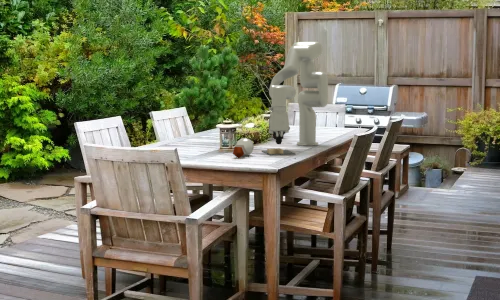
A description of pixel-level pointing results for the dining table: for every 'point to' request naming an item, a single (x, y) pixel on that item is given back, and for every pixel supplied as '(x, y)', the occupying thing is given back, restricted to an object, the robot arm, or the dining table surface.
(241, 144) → the potion bottle
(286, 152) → the mat
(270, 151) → the oak slab
